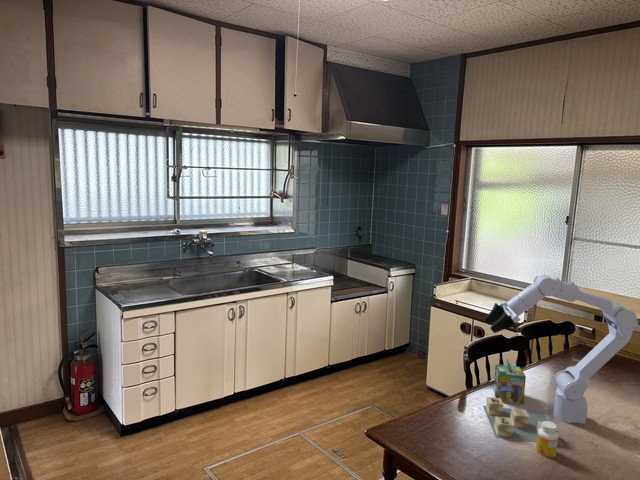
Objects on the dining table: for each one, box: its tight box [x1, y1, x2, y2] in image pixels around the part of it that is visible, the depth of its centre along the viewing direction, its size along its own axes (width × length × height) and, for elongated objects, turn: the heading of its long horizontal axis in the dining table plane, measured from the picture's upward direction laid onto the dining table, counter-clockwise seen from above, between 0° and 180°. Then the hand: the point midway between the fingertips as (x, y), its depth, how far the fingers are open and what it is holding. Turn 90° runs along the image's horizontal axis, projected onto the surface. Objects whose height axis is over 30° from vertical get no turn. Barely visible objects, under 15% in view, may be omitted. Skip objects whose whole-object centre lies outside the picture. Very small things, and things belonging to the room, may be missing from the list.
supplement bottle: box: [535, 420, 559, 458], centre depth 137 cm, size 5×5×10 cm
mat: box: [482, 405, 565, 447], centre depth 152 cm, size 20×20×1 cm
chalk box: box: [492, 358, 526, 405], centre depth 170 cm, size 9×9×15 cm
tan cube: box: [537, 421, 559, 435], centre depth 145 cm, size 4×4×4 cm
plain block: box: [510, 408, 529, 428], centre depth 152 cm, size 4×4×4 cm
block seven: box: [494, 416, 514, 437], centre depth 147 cm, size 4×4×4 cm
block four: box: [485, 396, 505, 416], centre depth 159 cm, size 4×4×4 cm
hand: (489, 326), depth 157 cm, fingers open, 7 cm apart
